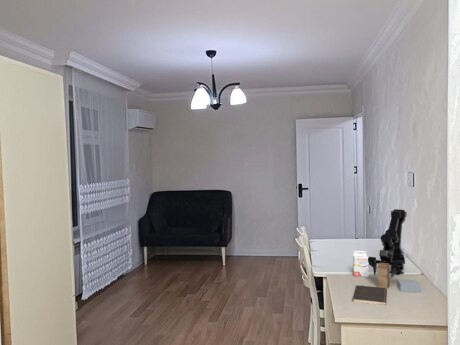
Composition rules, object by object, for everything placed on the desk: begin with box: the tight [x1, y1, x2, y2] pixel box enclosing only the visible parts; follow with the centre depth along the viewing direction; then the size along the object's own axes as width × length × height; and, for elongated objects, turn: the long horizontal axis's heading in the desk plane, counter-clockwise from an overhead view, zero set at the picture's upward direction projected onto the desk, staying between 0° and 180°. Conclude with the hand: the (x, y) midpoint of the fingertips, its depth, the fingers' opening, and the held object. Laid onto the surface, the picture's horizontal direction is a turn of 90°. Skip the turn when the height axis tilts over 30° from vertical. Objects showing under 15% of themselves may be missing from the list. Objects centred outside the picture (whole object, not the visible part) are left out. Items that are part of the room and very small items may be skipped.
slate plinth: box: [396, 278, 421, 293], centre depth 250 cm, size 10×10×4 cm
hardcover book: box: [352, 285, 388, 306], centre depth 239 cm, size 16×23×2 cm
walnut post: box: [377, 263, 390, 290], centre depth 254 cm, size 5×5×13 cm
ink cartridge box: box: [352, 250, 370, 278], centre depth 277 cm, size 9×5×15 cm, turn 84°
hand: (383, 276), depth 253 cm, fingers open, 9 cm apart
